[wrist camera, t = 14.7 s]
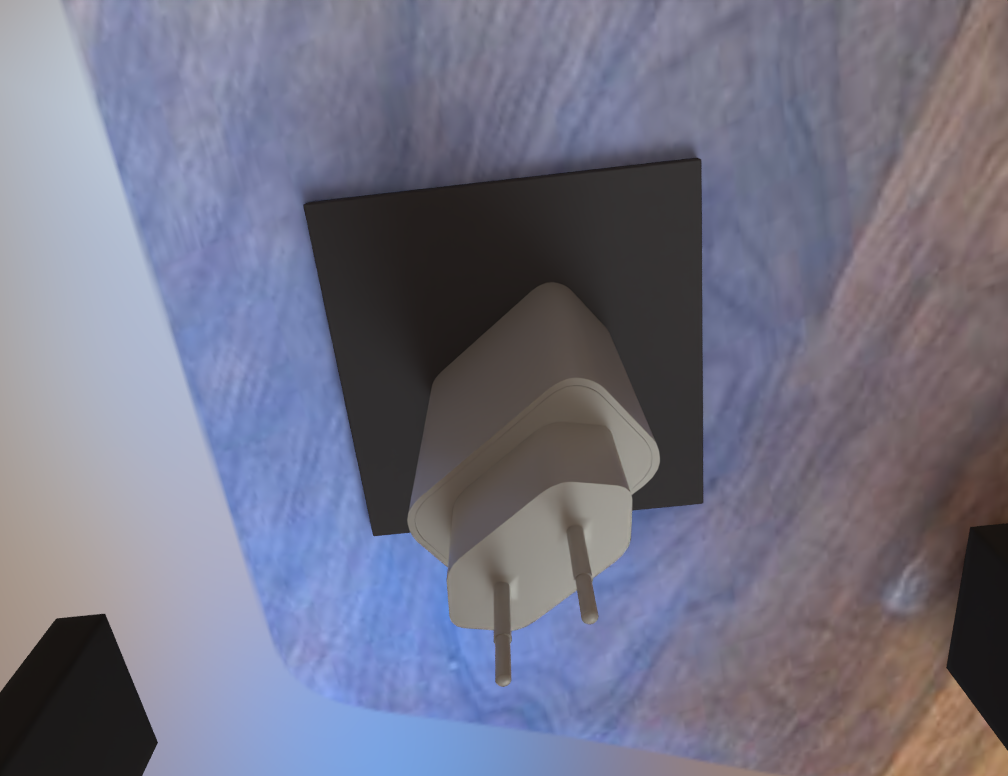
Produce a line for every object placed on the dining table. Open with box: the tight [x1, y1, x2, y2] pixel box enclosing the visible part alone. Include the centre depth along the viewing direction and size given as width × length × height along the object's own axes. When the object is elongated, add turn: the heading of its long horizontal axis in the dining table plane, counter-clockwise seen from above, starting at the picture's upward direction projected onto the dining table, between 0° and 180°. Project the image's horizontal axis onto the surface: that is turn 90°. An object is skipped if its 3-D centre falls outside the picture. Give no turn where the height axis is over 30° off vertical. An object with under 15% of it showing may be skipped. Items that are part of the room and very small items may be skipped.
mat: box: [304, 158, 703, 536], centre depth 23 cm, size 11×11×1 cm
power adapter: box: [407, 282, 660, 687], centre depth 17 cm, size 3×5×12 cm, turn 133°
